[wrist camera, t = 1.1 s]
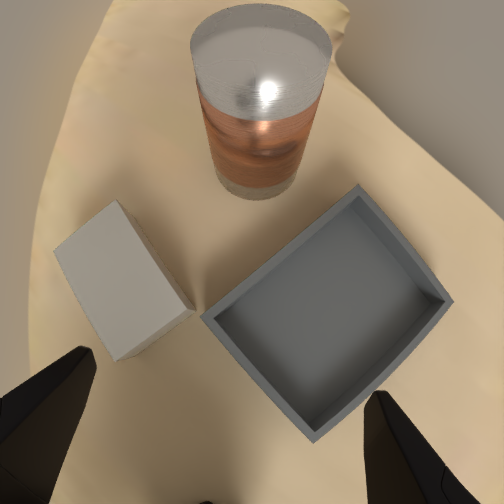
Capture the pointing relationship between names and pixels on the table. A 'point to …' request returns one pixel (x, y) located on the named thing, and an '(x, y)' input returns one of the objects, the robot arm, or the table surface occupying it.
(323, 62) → the steel can
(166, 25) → the table surface
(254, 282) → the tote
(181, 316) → the grey rectangular block
